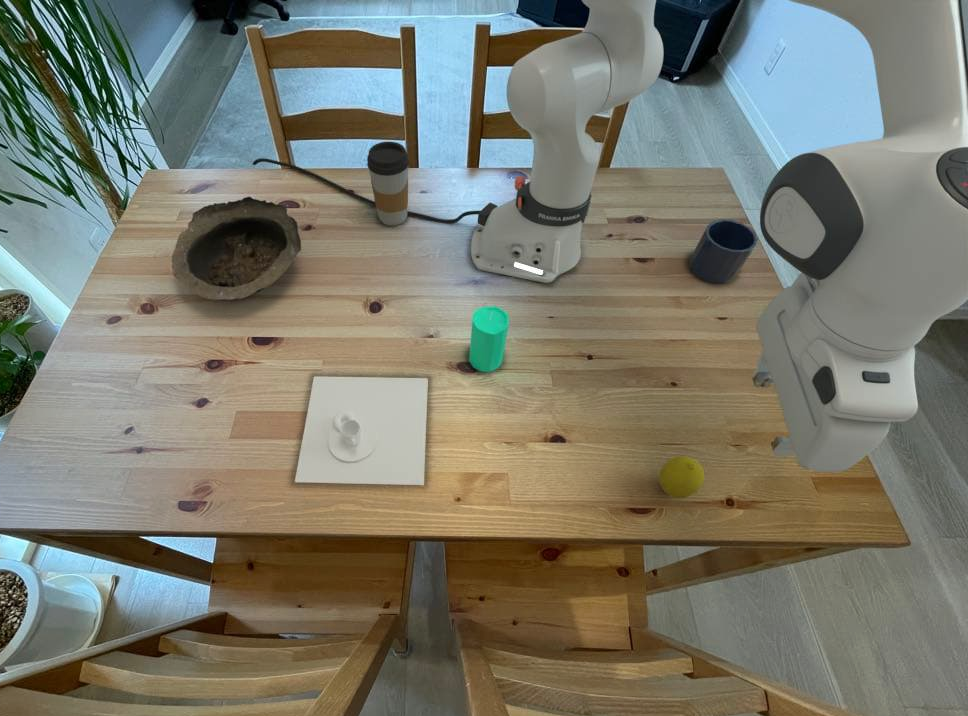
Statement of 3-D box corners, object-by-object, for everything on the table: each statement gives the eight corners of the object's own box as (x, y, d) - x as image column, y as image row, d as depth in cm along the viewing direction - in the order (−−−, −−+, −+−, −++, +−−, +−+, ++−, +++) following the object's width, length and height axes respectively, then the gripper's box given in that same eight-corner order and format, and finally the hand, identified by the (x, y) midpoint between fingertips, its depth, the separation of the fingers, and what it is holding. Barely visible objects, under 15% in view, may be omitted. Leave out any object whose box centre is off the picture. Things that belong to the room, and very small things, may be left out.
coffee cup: (378, 203, 115) (370, 138, 102) (414, 206, 114) (411, 141, 101) (370, 228, 110) (361, 163, 98) (408, 231, 110) (404, 166, 97)
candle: (464, 366, 90) (467, 321, 80) (474, 341, 93) (479, 294, 83) (497, 376, 89) (504, 331, 79) (506, 350, 92) (514, 303, 82)
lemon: (690, 508, 76) (715, 487, 69) (652, 501, 76) (673, 479, 70) (688, 474, 78) (711, 451, 72) (651, 468, 79) (671, 444, 72)
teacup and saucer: (332, 414, 85) (328, 401, 82) (380, 415, 85) (377, 402, 82) (325, 462, 81) (320, 450, 77) (375, 463, 80) (372, 451, 77)
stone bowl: (294, 219, 112) (285, 183, 103) (320, 305, 101) (311, 272, 92) (178, 243, 108) (158, 208, 99) (191, 336, 96) (170, 304, 88)
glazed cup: (692, 282, 100) (711, 250, 93) (685, 250, 105) (702, 218, 98) (740, 285, 99) (762, 253, 93) (730, 253, 104) (751, 220, 97)
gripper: (781, 258, 54) (722, 344, 65) (844, 422, 42) (760, 492, 54) (845, 262, 53) (774, 348, 65) (926, 429, 42) (824, 498, 53)
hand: (768, 415), depth 59 cm, fingers open, 8 cm apart
